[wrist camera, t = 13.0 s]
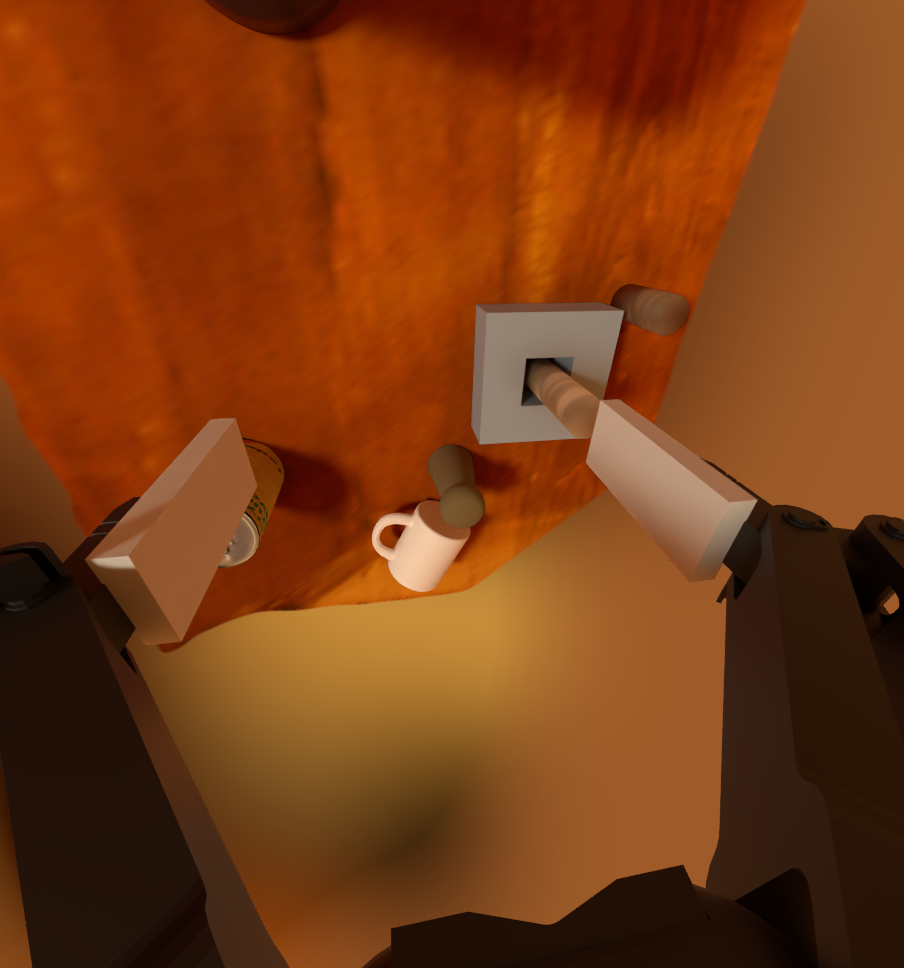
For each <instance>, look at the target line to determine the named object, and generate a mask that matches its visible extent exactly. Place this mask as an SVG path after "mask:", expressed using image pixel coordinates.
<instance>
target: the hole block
mask: <svg viewBox="0 0 904 968" xmlns="http://www.w3.org/2000/svg"><path fill="white" fill-rule="evenodd" d="M623 314H624V310H621V309H618V308H616V307H613V306H610V305H607V304H604V303H535V304H476V325H475V350H474V375H473V400H472V425H471V426H472V428H473V431H474V433H475V435H476V437H477V440H478V442H479V444H494V443H510V442H526V441H542V440H558V439H575V438H577V437H575V436H573V435H572V434H571V433H570V432H569V431H568V430H567V429H566V427H565V426H564V425H563V424H562V423H561V422H560V421H559V420H558V419H557V418H556V417H555V416H554V415H553V413H552V412H551V411H550V410H549V409H548V408H547V407H546V406H545V405H544V404H543V403H542V402H541V401H540V399H539V398H538V397H537V396H536V395H535V394H534V393H533V392H532V391H531V390H523V382H524V374H525V365H526V358H554V365H556V366H557V367H558V368H559V369H561V370H562V371H563V372H565V373H566V374H567V375H568V376H570V377H571V378H572V379H574V380H575V381H576V382H577V383H579V384H580V385H581V386H583V387H584V388H585V389H586V390H588V391H589V392H590V393H592V394H593V395H594V396H595V397H597V398H598V399H599V400H603V399H604V395H605V390H606V386H607V382H608V378H609V374H610V369H611V365H612V361H613V357H614V352H615V348H616V344H617V340H618V335H619V331H620V327H621V323H622V319H623ZM590 438H591V437H590Z"/></svg>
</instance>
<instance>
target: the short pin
mask: <svg viewBox="0 0 904 968" xmlns="http://www.w3.org/2000/svg"><path fill="white" fill-rule="evenodd" d="M611 306H613V307H616V308H618V309H621V310H624V314H623V319H622V320H623V321H625V322H628V323H630V324H633V325H635V326H638V327H641V328H643V329H646V330H648V331H651V332H654V333H656V334H659V335H662V336H665V335H670V334H672V333H674V332H676V331H677V330H678V329H679V328H680V327H681V326H682V325H683V324H684V322H685V321H686V319H687V316H688V313H689V304H688V301H687V299H686V298H685V297H684V296H682V295H679V294H674V293H670V292H665V291H661V290H656V289H652V288H647V287H643V286H639V285H634V284H627V285H624V286H622V287H621V288H620V289H618V290H617V292H616V293H615V294H614V296H613V298H612V301H611Z"/></svg>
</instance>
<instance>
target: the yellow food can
mask: <svg viewBox="0 0 904 968" xmlns="http://www.w3.org/2000/svg"><path fill="white" fill-rule="evenodd" d="M242 440H243V443H244V446H245V449H246V452H247V455H248V459H249V462H250V465H251V468H252V471H253V474H254V477H255V480H256V483H257V488H256V490H255V492H254V494H253V496H252V498H251V500H250V502H249V504H248V506H247V508H246V510H245V512H244V514H243V516H242V519H241V521H240V523H239V525H238V527H237V529H236V531H235V533H234V535H233V537H232V539H231V541H230V543H229V545H228V547H227V549H226V551H225V553H224V555H223V557H222V560H221V562H220V564H219V566H218V568H225V567H231V566H235V565H238V564H240V563H242V562H244V561H246V560H248V559H249V558H250V557H251V556H252V555H253V554H254V553H255V551H256V549H257V547H258V545H259V542H260V540H261V537H262V535H263V532H264V530H265V527H266V525H267V522H268V520H269V517H270V515H271V512H272V509H273V507H274V504H275V502H276V499H277V497H278V494H279V492H280V489H281V487H282V484H283V482H284V474H285V473H284V469H283V465H282V463H281V461H280V459H279V458H278V456H277V455H276V454H275V453H274V452H273V451H272V450H271V449H269V448H268V447H266V446H265V445H263V444H261V443H259V442H257V441H254V440H251V439H246V438H242Z"/></svg>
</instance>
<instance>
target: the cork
mask: <svg viewBox="0 0 904 968" xmlns="http://www.w3.org/2000/svg"><path fill="white" fill-rule="evenodd" d="M428 470H429V473H430V475H431V477H432V479H433V481H434V484H435V486H436V488H437V490H438V492H439V495H440V497H441V499H440V503H439V509H440V514H441V516H442V518H443V519H444V521H445V522H446V523H447V524H448V525H450V526H453V527H455V528H461V529H462V528H468V527H471V526H473V525H475V524H476V523H478V522H479V521H480V519H481V518H482V517H483V514H484V512H485V500H484V498H483V495H482V493H481V492H480V491H479V490H478V489H477V488H476V483H475V475H474V467H473V459H472V456H471V454H470V453H469V451H468V450H467V449H466V448H464V447H462V446H459V445H454V444H452V445H445V446H442V447H440V448H438V449H437V450H436V451H434V452H433V454H432V455H431V456H430V458H429V462H428Z"/></svg>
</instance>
